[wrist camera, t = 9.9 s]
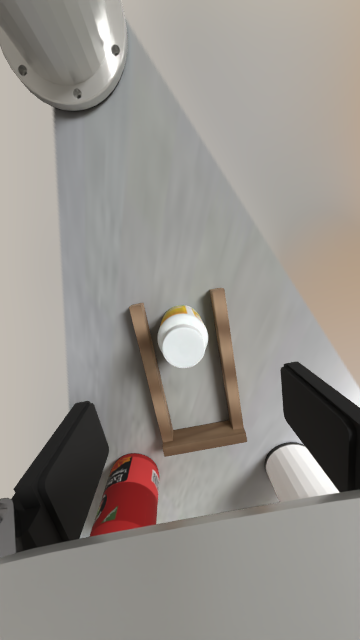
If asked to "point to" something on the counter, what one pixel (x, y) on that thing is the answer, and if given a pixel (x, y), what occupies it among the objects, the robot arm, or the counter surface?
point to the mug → (296, 473)
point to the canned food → (128, 496)
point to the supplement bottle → (182, 336)
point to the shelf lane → (172, 439)
